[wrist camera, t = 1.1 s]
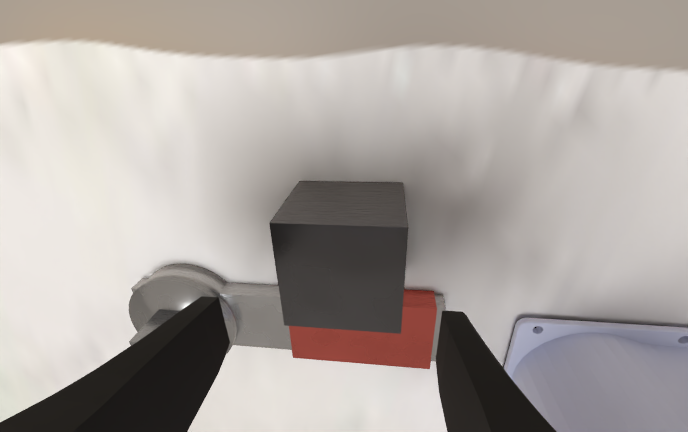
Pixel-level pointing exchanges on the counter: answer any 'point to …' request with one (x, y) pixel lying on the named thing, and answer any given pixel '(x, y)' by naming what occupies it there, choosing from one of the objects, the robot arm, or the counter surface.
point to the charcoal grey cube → (342, 255)
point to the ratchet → (268, 325)
